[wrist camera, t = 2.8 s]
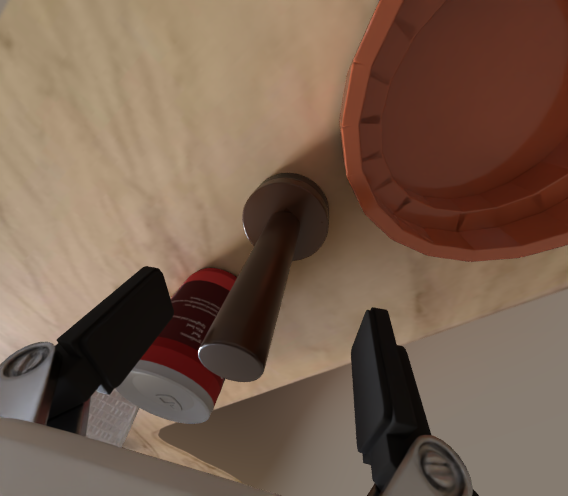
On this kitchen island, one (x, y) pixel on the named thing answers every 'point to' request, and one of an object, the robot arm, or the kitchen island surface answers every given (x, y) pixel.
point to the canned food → (182, 355)
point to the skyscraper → (110, 417)
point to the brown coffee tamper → (265, 273)
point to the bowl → (461, 126)
